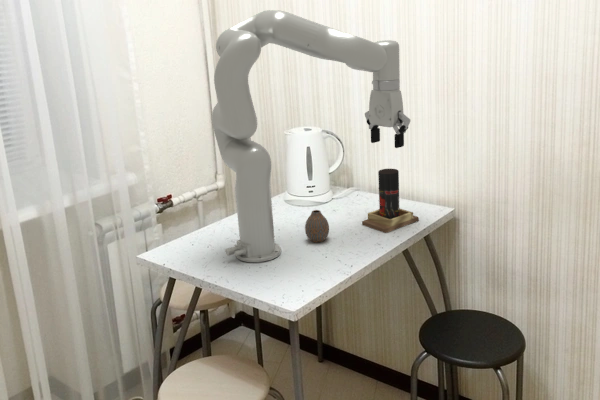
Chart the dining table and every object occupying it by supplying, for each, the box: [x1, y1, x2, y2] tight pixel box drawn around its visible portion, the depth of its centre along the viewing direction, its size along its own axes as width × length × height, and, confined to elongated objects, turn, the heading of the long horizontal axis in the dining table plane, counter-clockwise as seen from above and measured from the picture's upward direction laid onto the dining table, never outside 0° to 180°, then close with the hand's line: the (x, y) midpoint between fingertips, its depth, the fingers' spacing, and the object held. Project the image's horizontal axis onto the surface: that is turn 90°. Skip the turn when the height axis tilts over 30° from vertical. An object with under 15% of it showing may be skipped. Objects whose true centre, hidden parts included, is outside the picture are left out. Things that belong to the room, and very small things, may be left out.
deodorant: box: [377, 168, 400, 219], centre depth 197 cm, size 6×6×15 cm
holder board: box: [361, 207, 420, 234], centre depth 199 cm, size 14×10×3 cm
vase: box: [304, 209, 330, 243], centre depth 189 cm, size 7×7×9 cm
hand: (387, 144), depth 192 cm, fingers open, 9 cm apart
